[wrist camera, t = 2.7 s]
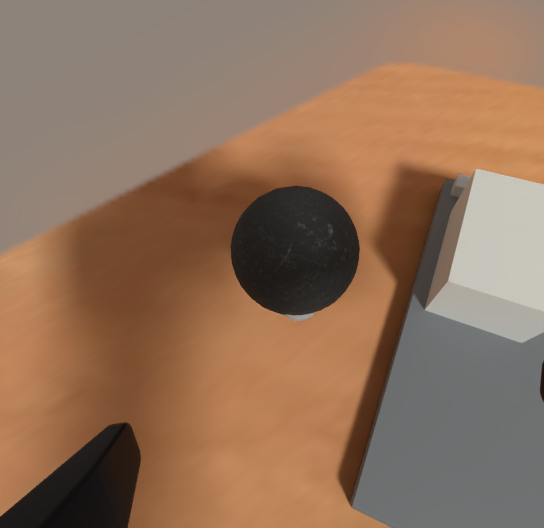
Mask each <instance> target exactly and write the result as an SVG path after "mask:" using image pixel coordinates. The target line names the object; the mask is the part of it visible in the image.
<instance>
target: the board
mask: <svg viewBox="0 0 544 528" xmlns="http://www.w3.org/2000/svg"><path fill="white" fill-rule="evenodd" d="M543 361H544V185H543V184H539V183H535V182H531V181H526V180H522V179H518V178H514V177H509V176H505V175H501V174H497V173H492V172H488V171H484V170H479V169H476V170H475V171H474V173H473V175H472V177H471V176H466V175H462V174H458V176H457V178H456V180H451V179H447V178H446V180H445V182H444V184H443V186H442V188H441V191H440V194H439V198H438V201H437V204H436V208H435V211H434V215H433V218H432V222H431V225H430V229H429V232H428V235H427V239H426V242H425V246H424V249H423V253H422V256H421V260H420V263H419V266H418V270H417V273H416V277H415V280H414V284H413V287H412V291H411V294H410V297H409V301H408V304H407V308H406V311H405V315H404V318H403V322H402V325H401V329H400V332H399V335H398V339H397V342H396V346H395V349H394V353H393V356H392V360H391V363H390V366H389V370H388V373H387V377H386V380H385V384H384V387H383V391H382V394H381V397H380V401H379V404H378V408H377V411H376V415H375V418H374V422H373V425H372V429H371V432H370V435H369V439H368V442H367V446H366V449H365V453H364V456H363V460H362V463H361V466H360V470H359V473H358V477H357V480H356V484H355V487H354V491H353V494H352V497H351V501H350V506H351V507H352V508H354V509H356V510H358V511H360V512H362V513H364V514H366V515H368V516H370V517H372V518H374V519H376V520H378V521H380V522H382V523H384V524H386V525H388V526H390V527H392V528H544V402H543V400H542V398H541V395H540V382H541V369H542V363H543Z"/></svg>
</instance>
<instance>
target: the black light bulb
mask: <svg viewBox="0 0 544 528" xmlns="http://www.w3.org/2000/svg"><path fill="white" fill-rule="evenodd" d="M359 250H360V248H359V240H358V236H357V231H356V229H355V226H354V224H353V222H352V220H351V218H350V216H349V215H348V213H347V212H346V211H345V209H344V208H343V207H342V206H341V205H340V204H339V203H338V202H337V201H336V200H334V199H333V198H332V197H330V196H328V195H327V194H325V193H323V192H321V191H318V190H315V189H312V188H309V187H301V186H292V187H285V188H278V189H275V190H273V191H271V192H269V193H266V194H264V195H262V196H260V197H258V198H257V199H256V200H255V201H254V202H253V203H252V204H251V205H250V206H249V207H248V208H247V209H246V210H245V211H244V212H243V214H242V215H241V217H240V219H239V221H238V222H237V224H236V227H235V229H234V233H233V236H232V242H231V259H232V265H233V268H234V271H235V274H236V277H237V279H238V281H239V283H240V285H241V287H242V288H243V289H244V290H245V291H246V293H247V294H248V295H249V296H250V297H251V298H252V299H253V300H254V301H256V302H257V303H258V304H260V305H261V306H262V307H264V308H266V309H269V310H271V311H274V312H277V313H280V314H284V315H285V316H286V317H288V318H290V319H292V320H296V321H301V320H306V319H309V318H310V317H312V316H313V315H314V314H315V312H317V311H320V310H322V309H324V308H325V307H328V306H329V305H331V304H332V303H334V302H335V301H336V300H337V299H338V298H339V297H341V295H342V294H343V293H344V292H345V291H346V289H347V288H348V286H349V285H350V283H351V281H352V279H353V277H354V275H355V273H356V270H357V265H358V261H359Z"/></svg>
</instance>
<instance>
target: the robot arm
mask: <svg viewBox="0 0 544 528" xmlns="http://www.w3.org/2000/svg"><path fill="white" fill-rule="evenodd" d="M540 395H541V398H542V400H543V402H544V361H543V363H542V369H541V382H540ZM140 461H141V455H140V450H139V447H138V444H137V441H136V438H135V435H134V432H133V430H132V427H131V425H130V424H129V423H126V422H125V423H118V424H112V425H109V426H108V427H106V428H105V429H104V430H103V431H102V432H100V433H99V434H98V435H97V436H96V437H94V438H93V439H92V440H91V441H90V442H88V443H87V444H86V445H85V446H84V447H83V448H81V449H80V450H79V451H78V452H77V453H75V454H74V455H73V456H72V457H71V458H69V459H68V460H67V461H66V462H65V463H64V464H62V465H61V466H60V467H59V468H58V469H56V470H55V471H54V472H53V473H52V474H50V475H49V476H48V477H47V478H46V479H45V480H43V481H42V482H41V483H40V484H39V485H37V486H36V487H35V488H34V489H33V490H31V491H30V492H29V493H28V494H27V495H26V496H24V497H23V498H22V499H21V500H20V501H18V502H17V503H16V504H15V505H14V506H12V507H11V508H10V509H9V510H8V511H7V512H5V513H4V514H3V515H2V516H1V517H0V528H128V523H129V518H130V513H131V508H132V503H133V498H134V493H135V488H136V482H137V477H138V472H139V467H140Z"/></svg>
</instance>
